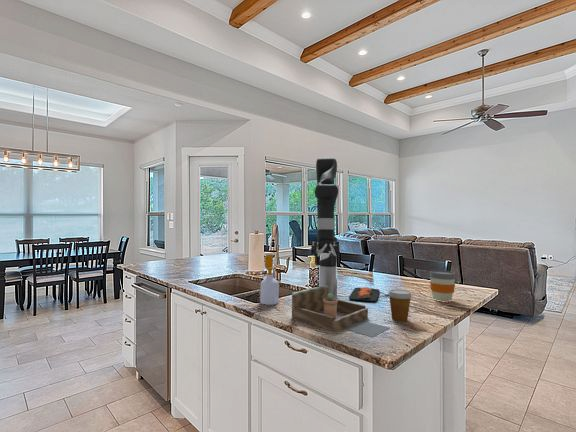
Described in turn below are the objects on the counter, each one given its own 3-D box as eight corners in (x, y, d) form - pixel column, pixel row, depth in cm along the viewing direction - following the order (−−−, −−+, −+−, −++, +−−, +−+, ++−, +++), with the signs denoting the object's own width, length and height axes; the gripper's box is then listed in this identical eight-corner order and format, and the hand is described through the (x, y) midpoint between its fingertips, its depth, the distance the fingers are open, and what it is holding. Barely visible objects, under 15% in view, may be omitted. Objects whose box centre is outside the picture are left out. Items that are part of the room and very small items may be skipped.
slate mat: (363, 321, 134) (363, 320, 134) (390, 328, 126) (390, 327, 126) (344, 329, 124) (344, 328, 124) (372, 337, 116) (372, 336, 116)
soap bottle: (262, 305, 155) (263, 255, 155) (258, 301, 164) (259, 253, 164) (280, 304, 157) (280, 254, 157) (275, 300, 166) (276, 252, 166)
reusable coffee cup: (457, 304, 162) (457, 275, 162) (430, 302, 166) (430, 273, 166) (453, 298, 174) (453, 271, 174) (428, 296, 178) (428, 269, 178)
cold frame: (325, 307, 154) (326, 284, 154) (367, 317, 138) (368, 292, 138) (291, 318, 136) (291, 293, 136) (335, 331, 121) (335, 303, 121)
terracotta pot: (328, 314, 142) (328, 291, 142) (340, 318, 137) (340, 293, 137) (319, 318, 137) (319, 293, 137) (331, 321, 133) (332, 296, 133)
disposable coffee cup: (406, 316, 141) (406, 289, 141) (415, 323, 132) (415, 294, 132) (384, 316, 141) (385, 288, 141) (392, 323, 132) (392, 294, 132)
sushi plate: (355, 290, 194) (355, 283, 194) (407, 294, 184) (407, 288, 184) (347, 301, 167) (347, 294, 167) (409, 308, 157) (409, 300, 157)
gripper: (332, 228, 150) (332, 263, 149) (308, 228, 143) (307, 264, 142) (343, 229, 143) (343, 265, 143) (318, 228, 136) (317, 266, 135)
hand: (325, 264), depth 142 cm, fingers open, 8 cm apart
